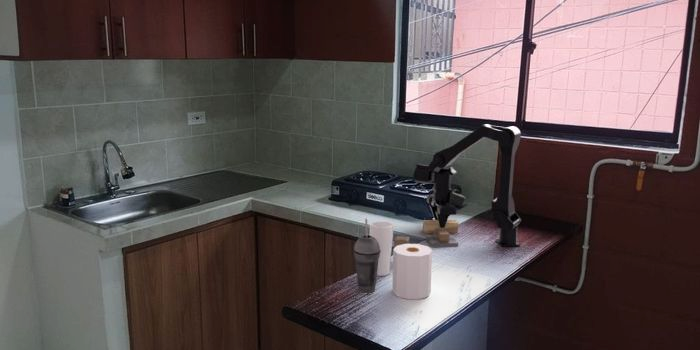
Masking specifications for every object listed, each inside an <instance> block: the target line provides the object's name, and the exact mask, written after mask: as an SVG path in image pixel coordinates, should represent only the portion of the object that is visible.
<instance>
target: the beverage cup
mask: <svg viewBox="0 0 700 350" xmlns="http://www.w3.org/2000/svg"><path fill="white" fill-rule="evenodd" d="M364 221H365V226H364V227H365V235H362V236H360V237H358V239H357V240H356V242H355V243H354V247H353V252H354V253H353V254H354V258H355V267H356V268H355V269H356V270H355V271H356V279H357V280H356V281H357V290H358V293H360V292H361V293H360V294H362V293H367V294H366V295H370V294H369V293H372V294H374V293H375V292H376V285H377V277H378V276H377V269H378V260H379V256H380V252H381V250H380V245H379V243H378V241H377V240H376V239H375V238H374V237H373V236H370V235H369V234H368V219H367V218H365V219H364ZM373 292H374V293H373Z"/></svg>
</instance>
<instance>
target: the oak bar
mask: <svg viewBox="0 0 700 350" xmlns="http://www.w3.org/2000/svg"><path fill="white" fill-rule="evenodd" d="M422 220H423V221H422V232H424V234H435V228H440V225H439V222H438V220H435V219H425V220H424V219H422ZM444 229H445V230H446V231H447V232H448V233H449V234H456V233H457V234H458V233H459V221H457V220H456V219H447V222H446V225H445V228H444Z"/></svg>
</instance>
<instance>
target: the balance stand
mask: <svg viewBox="0 0 700 350" xmlns="http://www.w3.org/2000/svg"><path fill="white" fill-rule="evenodd" d="M424 237H425V238H424V239H425V240H426V241H427V242H428V244H429V245H430V246H431V248H438V247H439V248H440V247H459V242H458V241H457V240H456V239H455V238H454V237H453V236H452V235H451V234H450V233H448V232H447V231H446V230H445V229H444V228H435V233H434V235H425V236H424Z"/></svg>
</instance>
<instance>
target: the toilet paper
mask: <svg viewBox="0 0 700 350" xmlns="http://www.w3.org/2000/svg"><path fill="white" fill-rule="evenodd" d="M432 263H433V249H432V248H431V247H429V246H427V245H423V244H419V243H409V244H402V245H398V246H396V247H395V248H394V247H393V248H392V280H391V281H392V284H391V285H392V287H391V288H392V289H391V291H392V293H393V294H394V295H395V296H396V297H400V298H403V299H406V300H420V299H424V298H428V297H429V295H430V294H431V291H432V290H431V289H432V272H433V271H432V269H433V268H432V267H433V265H432Z"/></svg>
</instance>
